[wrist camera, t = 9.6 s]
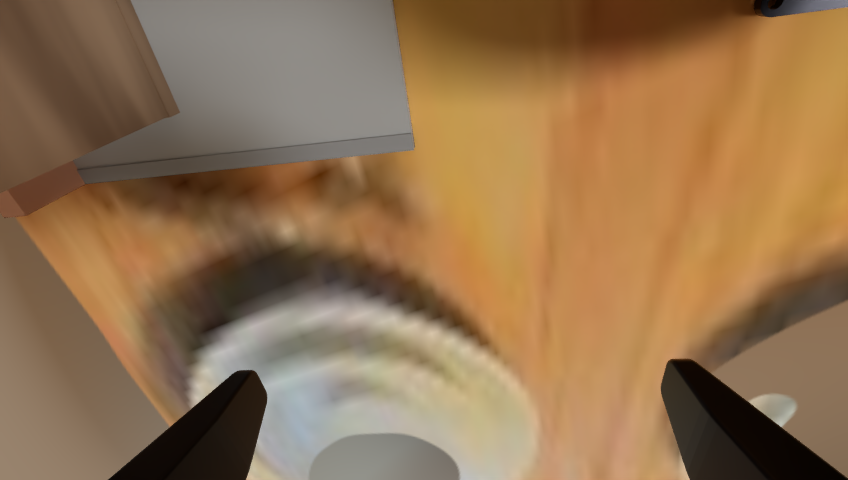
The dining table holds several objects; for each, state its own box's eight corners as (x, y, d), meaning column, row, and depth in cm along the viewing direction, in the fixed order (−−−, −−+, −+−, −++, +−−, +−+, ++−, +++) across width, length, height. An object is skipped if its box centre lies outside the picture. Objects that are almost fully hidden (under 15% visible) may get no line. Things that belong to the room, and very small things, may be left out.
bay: (362, -204, 13) (329, -266, 10) (414, 146, 20) (405, 180, 16) (-105, -98, 16) (-256, -119, 13) (73, 182, 22) (4, 217, 19)
